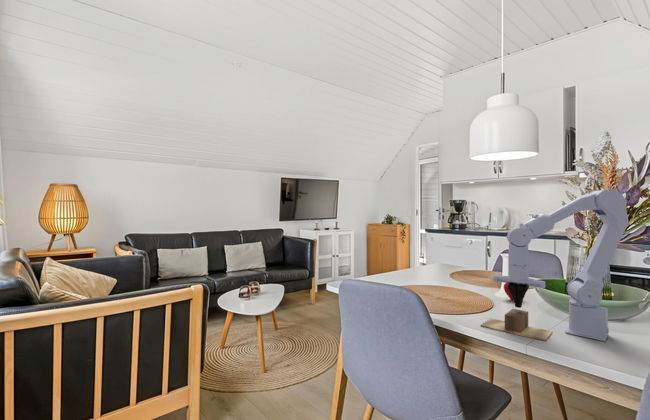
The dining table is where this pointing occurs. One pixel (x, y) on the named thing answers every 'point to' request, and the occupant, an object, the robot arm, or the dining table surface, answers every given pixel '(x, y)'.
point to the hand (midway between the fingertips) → (518, 306)
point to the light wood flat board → (527, 332)
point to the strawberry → (508, 291)
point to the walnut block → (516, 320)
